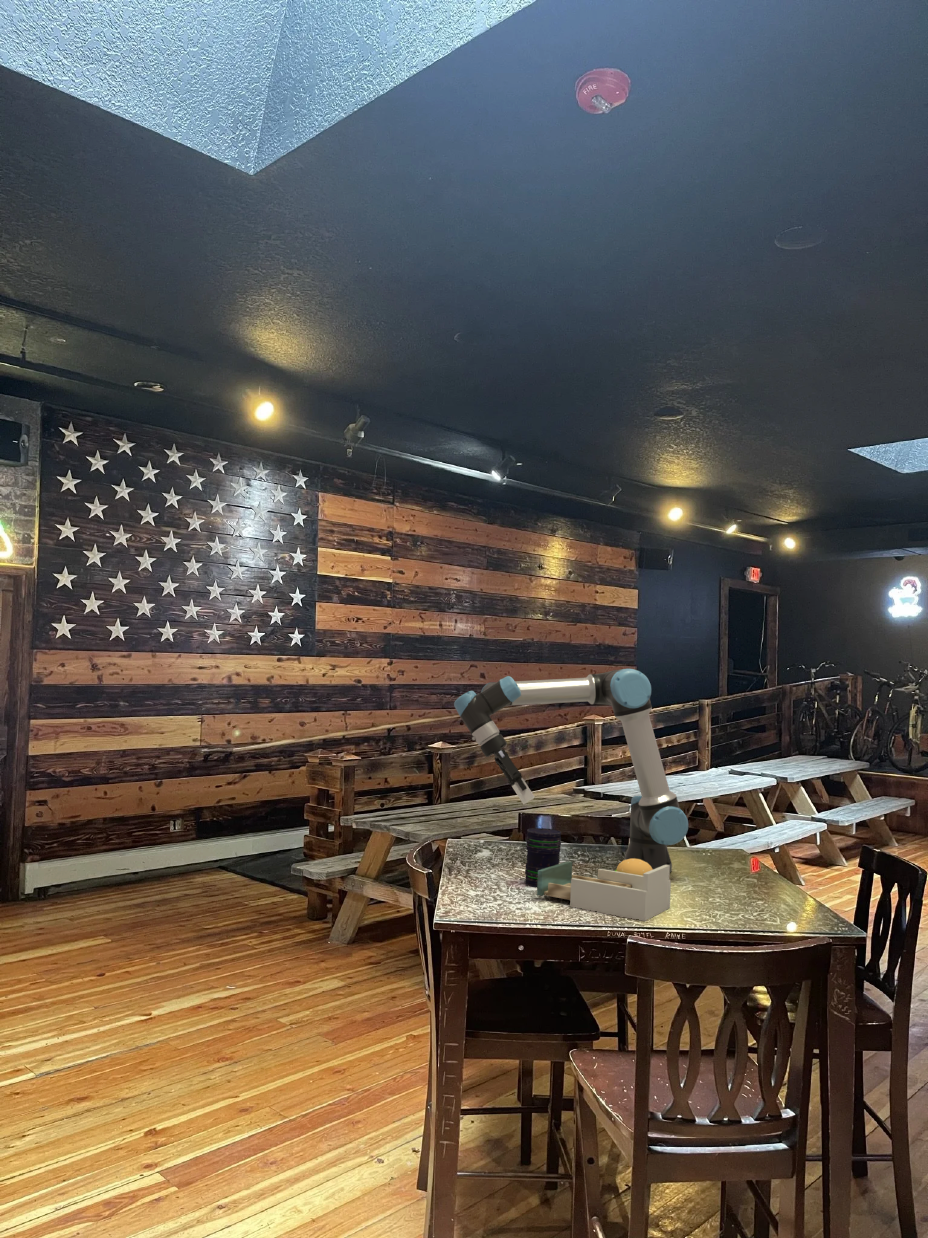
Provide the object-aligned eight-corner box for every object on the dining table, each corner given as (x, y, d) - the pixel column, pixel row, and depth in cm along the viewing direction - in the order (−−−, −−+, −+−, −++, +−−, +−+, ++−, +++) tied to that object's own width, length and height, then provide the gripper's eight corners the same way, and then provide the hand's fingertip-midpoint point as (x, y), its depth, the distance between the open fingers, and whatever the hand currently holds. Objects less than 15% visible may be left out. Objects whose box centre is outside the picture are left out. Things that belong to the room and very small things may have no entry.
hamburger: (620, 895, 238) (622, 863, 239) (606, 885, 250) (608, 855, 251) (662, 896, 240) (663, 864, 241) (646, 886, 252) (647, 855, 253)
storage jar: (563, 888, 243) (565, 834, 244) (529, 888, 241) (531, 833, 242) (554, 880, 252) (556, 828, 254) (520, 880, 251) (523, 827, 252)
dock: (570, 906, 222) (571, 862, 223) (598, 895, 237) (600, 853, 238) (644, 921, 211) (646, 875, 212) (670, 908, 226) (671, 864, 227)
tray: (536, 895, 227) (538, 870, 228) (567, 884, 242) (568, 861, 243) (607, 908, 217) (608, 882, 217) (634, 896, 232) (635, 872, 232)
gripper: (478, 750, 271) (515, 810, 266) (480, 741, 246) (521, 806, 242) (498, 738, 272) (536, 796, 267) (502, 727, 247) (543, 791, 243)
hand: (529, 801), depth 255 cm, fingers open, 13 cm apart
